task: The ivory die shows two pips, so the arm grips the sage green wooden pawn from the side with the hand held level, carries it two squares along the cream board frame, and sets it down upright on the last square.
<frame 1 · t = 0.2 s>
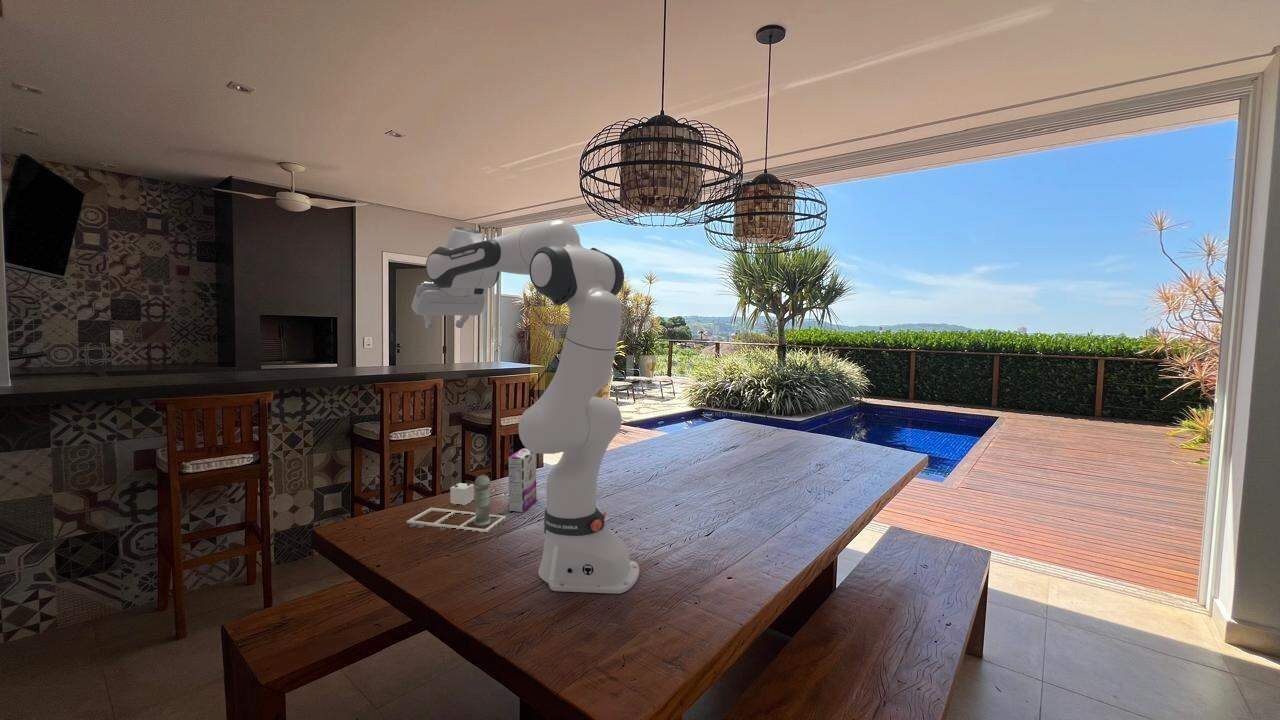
hand: (443, 327, 155), 53 cm above the table, tool tilted 25°, fingers open, 8 cm apart
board: (457, 520, 151), on the table
pawn: (482, 523, 149), resting in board
candy bar box: (522, 506, 163), on the table
die: (462, 502, 166), on the table
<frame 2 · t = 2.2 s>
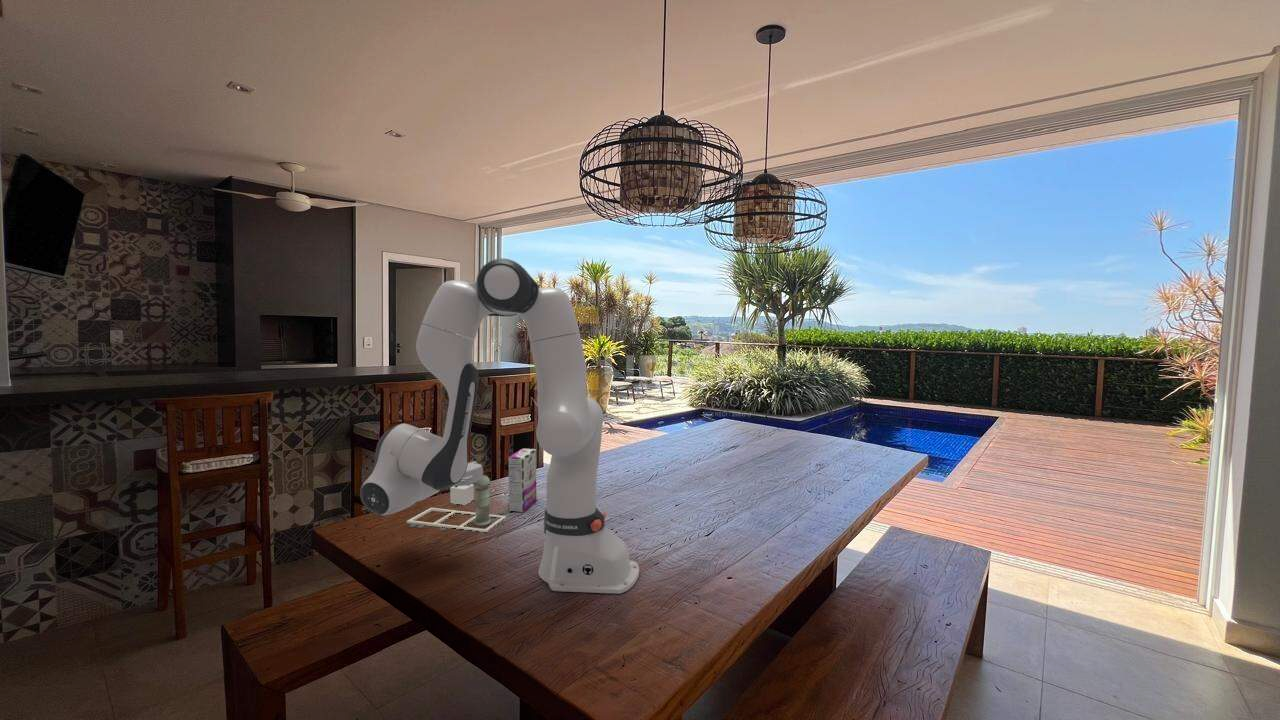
hand: (458, 462, 136), 20 cm above the table, tool horizontal, fingers open, 8 cm apart
nothing on the table moved.
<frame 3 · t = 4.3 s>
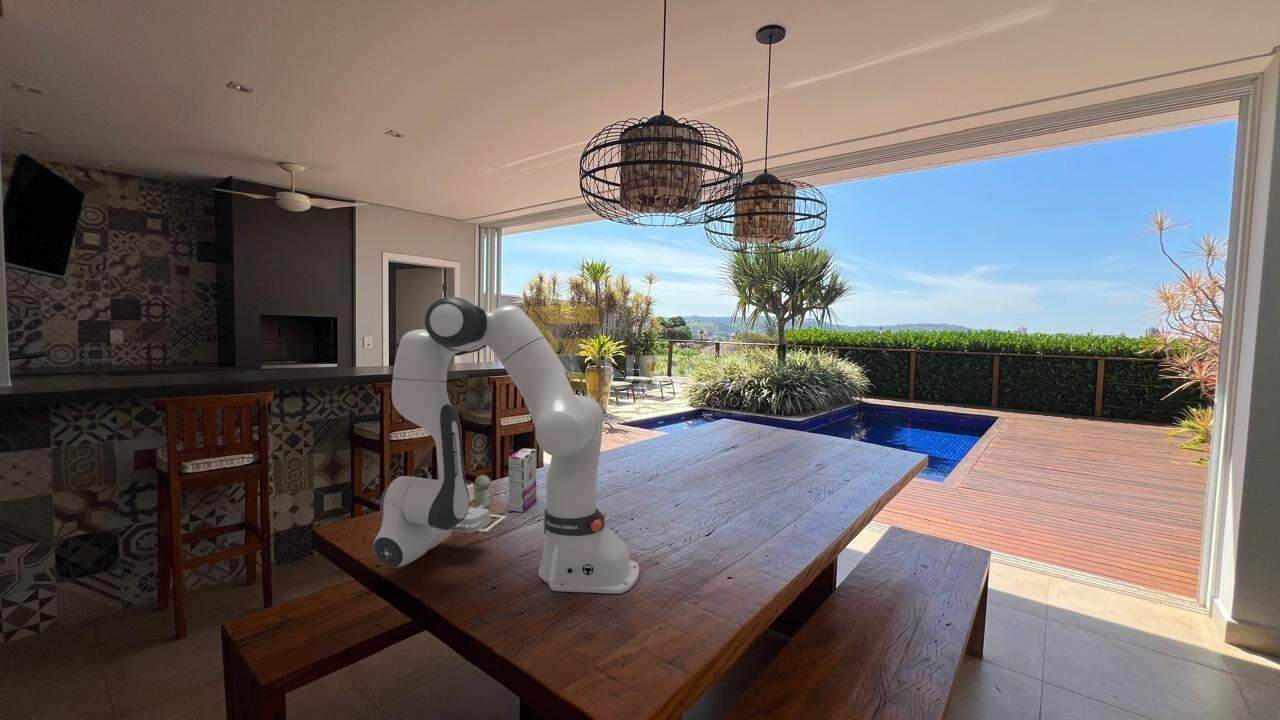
hand: (465, 505, 140), 8 cm above the table, tool horizontal, fingers open, 8 cm apart
nothing on the table moved.
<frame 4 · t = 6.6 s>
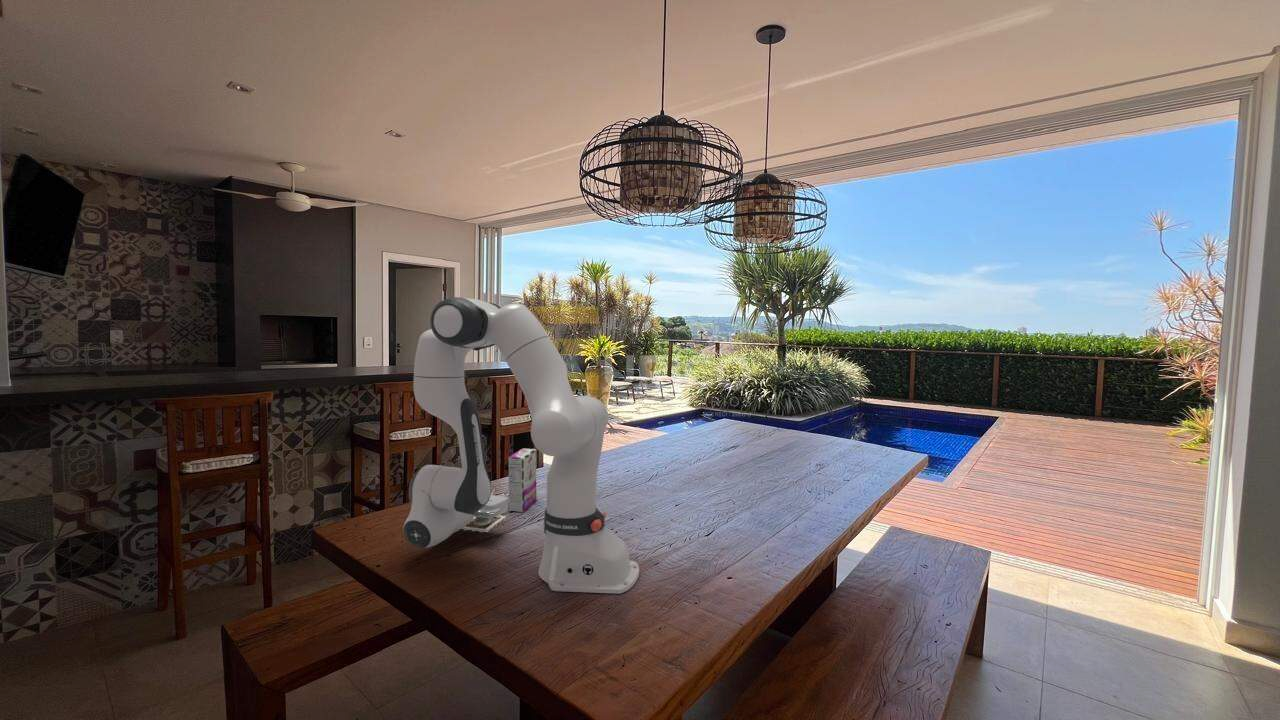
hand: (484, 494, 149), 8 cm above the table, tool horizontal, fingers closed on pawn, 4 cm apart
pawn: (482, 523, 149), resting in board, touching gripper
everything else where it was.
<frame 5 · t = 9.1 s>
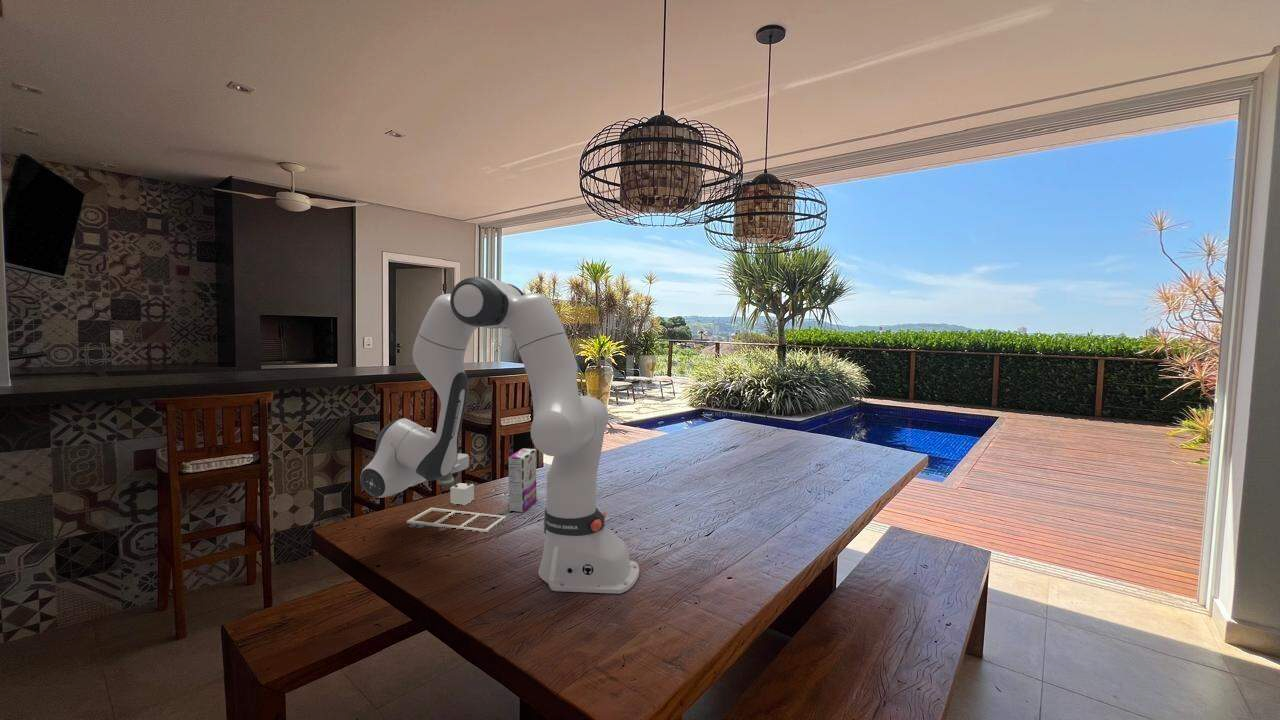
hand: (447, 453, 151), 19 cm above the table, tool horizontal, fingers closed on pawn, 4 cm apart
pawn: (445, 482, 151), point 11 cm above the table, touching gripper
everything else where it was.
when the fingers open (9 cm above the table, at t = 11.9 s): pawn drops 1 cm, resting in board.
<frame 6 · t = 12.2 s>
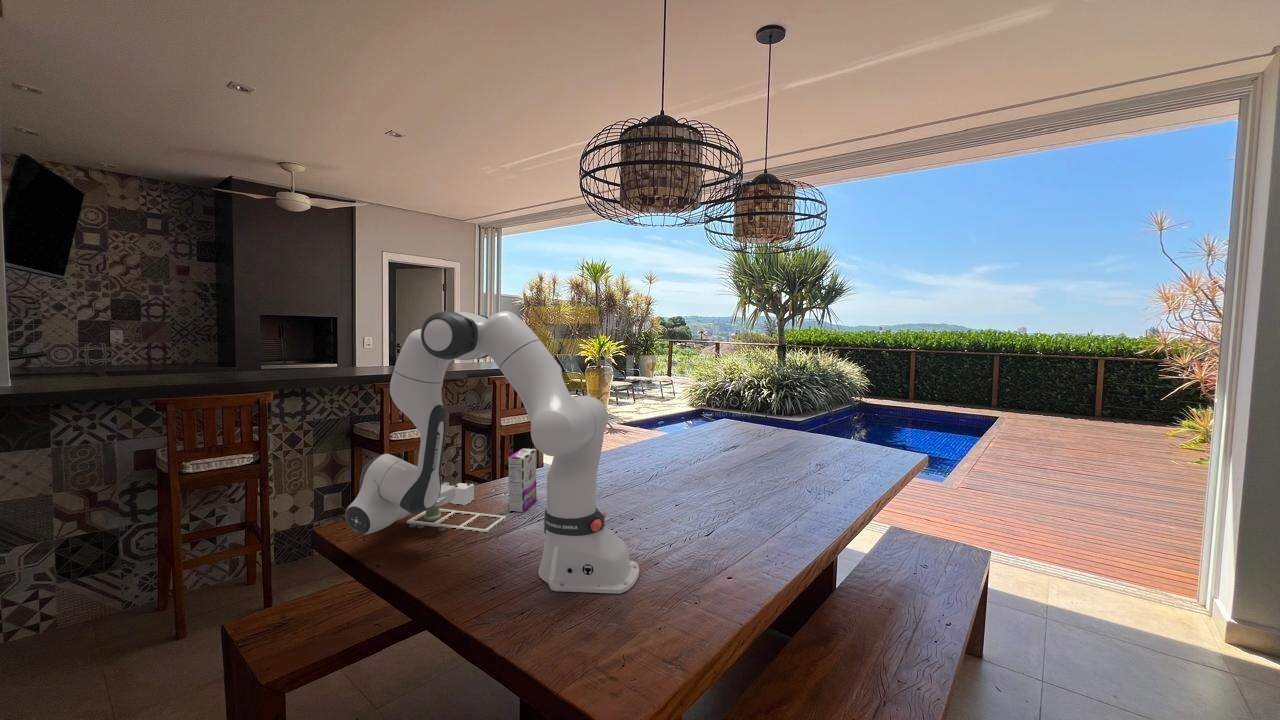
hand: (434, 483, 153), 9 cm above the table, tool horizontal, fingers open, 7 cm apart
pawn: (432, 517, 152), resting in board
everything else where it was.
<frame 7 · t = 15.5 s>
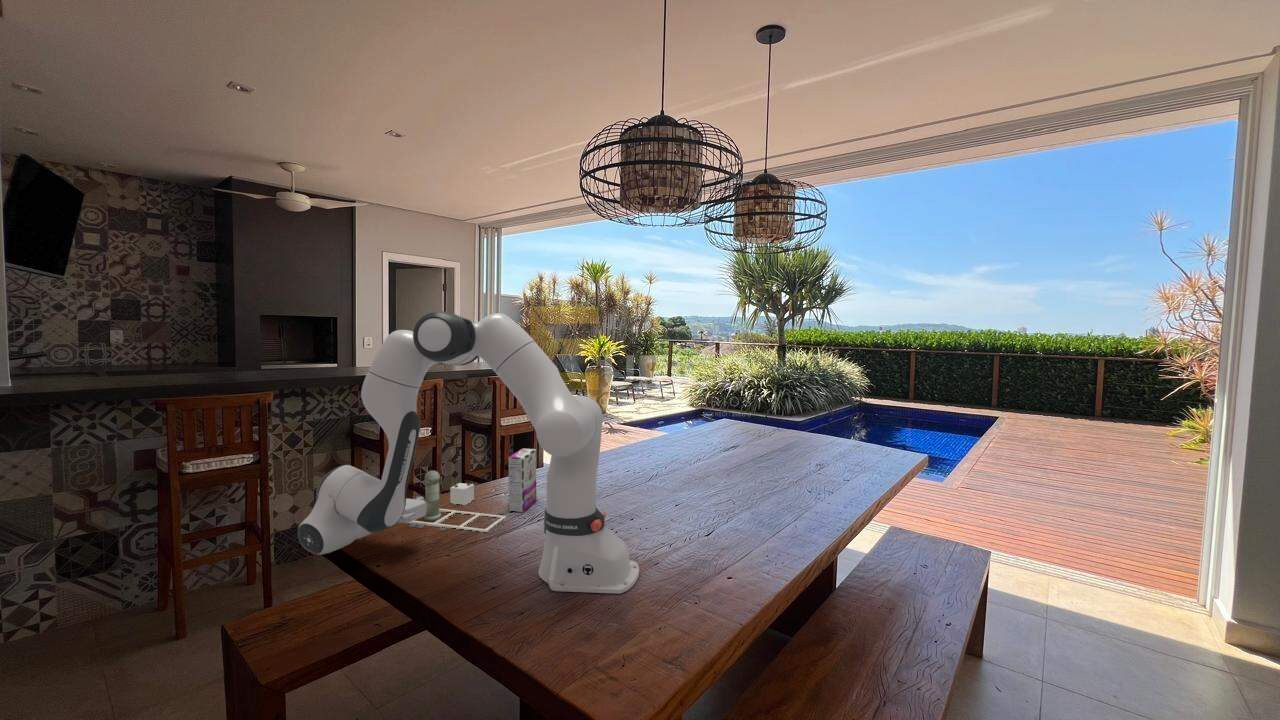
hand: (405, 497, 140), 10 cm above the table, tool horizontal, fingers open, 8 cm apart
nothing on the table moved.
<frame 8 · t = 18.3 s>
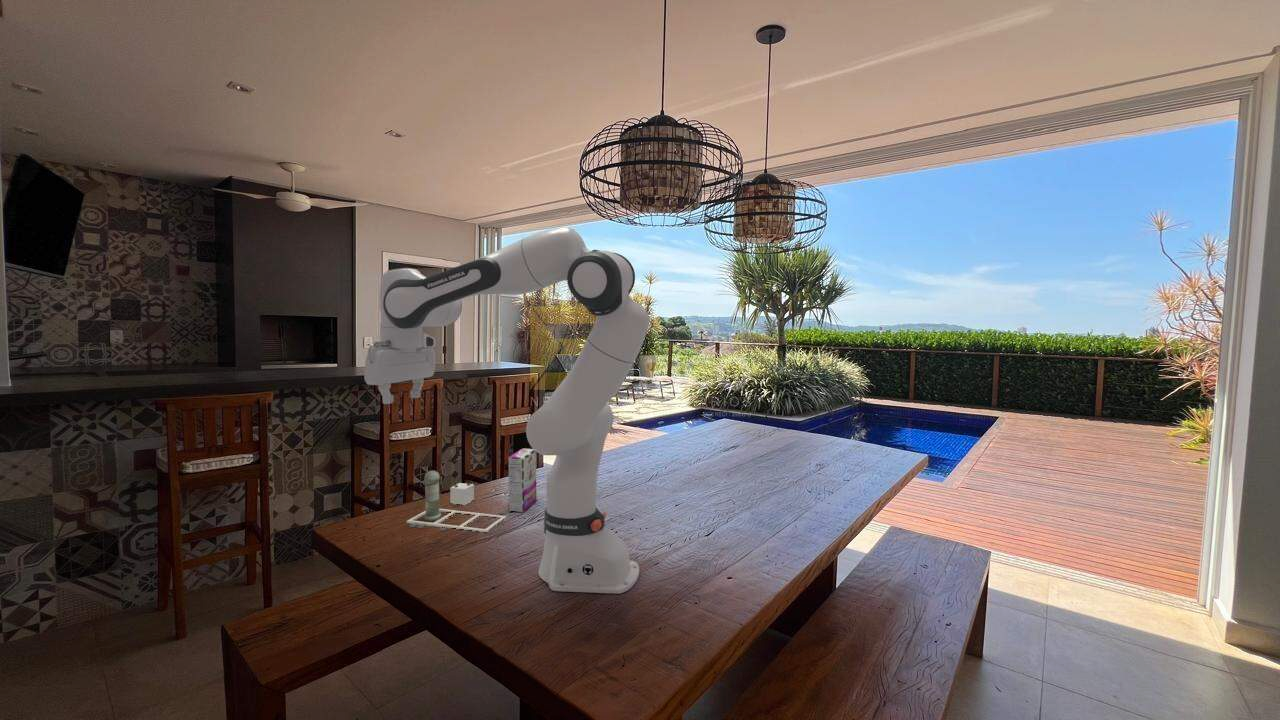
hand: (402, 400, 124), 37 cm above the table, tool pointing down, fingers open, 8 cm apart
nothing on the table moved.
at the end: pawn 0.1 cm from the target spot, resting in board; pawn tilted 1°; the gripper is holding nothing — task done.
